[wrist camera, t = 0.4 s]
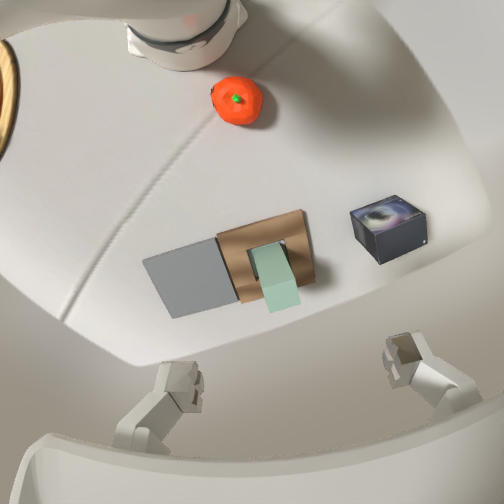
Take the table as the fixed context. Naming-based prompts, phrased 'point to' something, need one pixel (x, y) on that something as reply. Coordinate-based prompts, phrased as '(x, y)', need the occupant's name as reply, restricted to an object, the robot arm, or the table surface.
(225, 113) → the pumpkin
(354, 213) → the small box
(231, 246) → the pocket board
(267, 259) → the green block
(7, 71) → the wooden plate with food
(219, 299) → the rubber mat
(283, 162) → the table surface
